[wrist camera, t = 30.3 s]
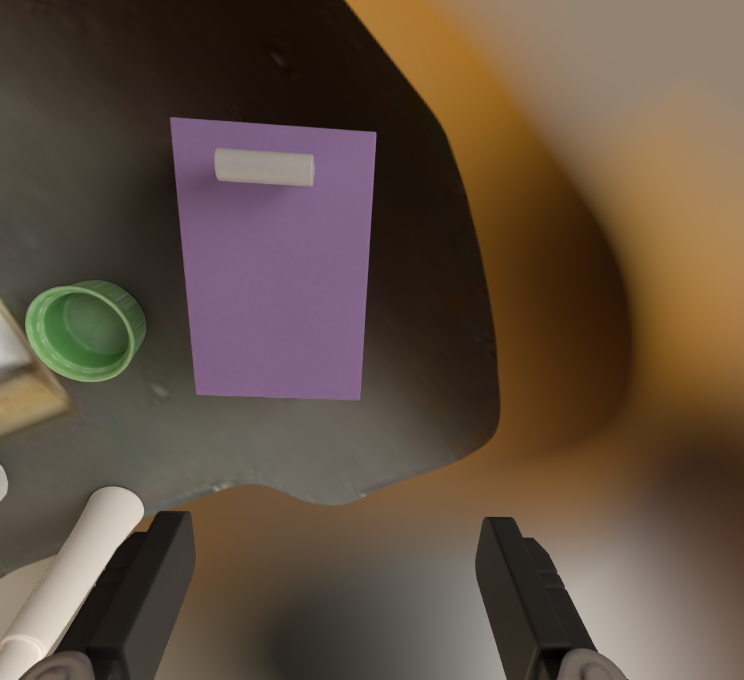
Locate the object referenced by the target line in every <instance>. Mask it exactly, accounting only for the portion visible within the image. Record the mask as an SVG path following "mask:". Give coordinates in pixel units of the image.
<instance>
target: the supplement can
mask: <svg viewBox="0 0 744 680" xmlns="http://www.w3.org/2000/svg"><path fill="white" fill-rule="evenodd" d="M7 488H8V481H7V477H6V474H5V471H4V468H3V467H2V466H1V465H0V501H1V500H2V499H3V497H4V496H5V495H6V493H7Z"/></svg>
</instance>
